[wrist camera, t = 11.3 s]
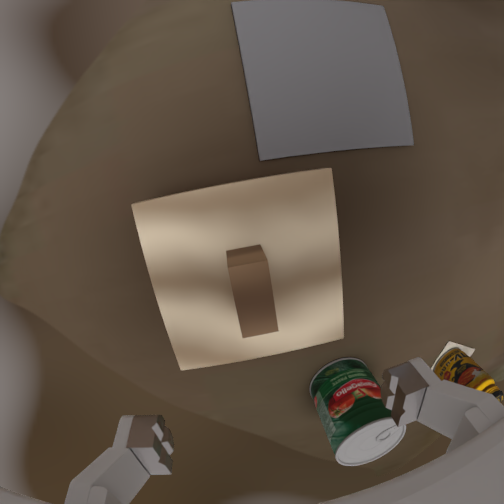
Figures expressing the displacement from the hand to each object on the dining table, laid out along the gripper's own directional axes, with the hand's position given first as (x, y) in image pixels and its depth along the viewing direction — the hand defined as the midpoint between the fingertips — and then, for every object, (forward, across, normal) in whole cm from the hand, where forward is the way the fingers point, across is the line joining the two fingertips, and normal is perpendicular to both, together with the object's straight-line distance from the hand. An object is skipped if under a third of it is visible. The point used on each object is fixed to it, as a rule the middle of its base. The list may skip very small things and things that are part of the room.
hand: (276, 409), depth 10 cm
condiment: (+20, -28, +24) cm, 42 cm away
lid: (+14, 0, +1) cm, 14 cm away
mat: (+20, -11, -15) cm, 28 cm away
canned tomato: (+20, -9, +20) cm, 29 cm away
